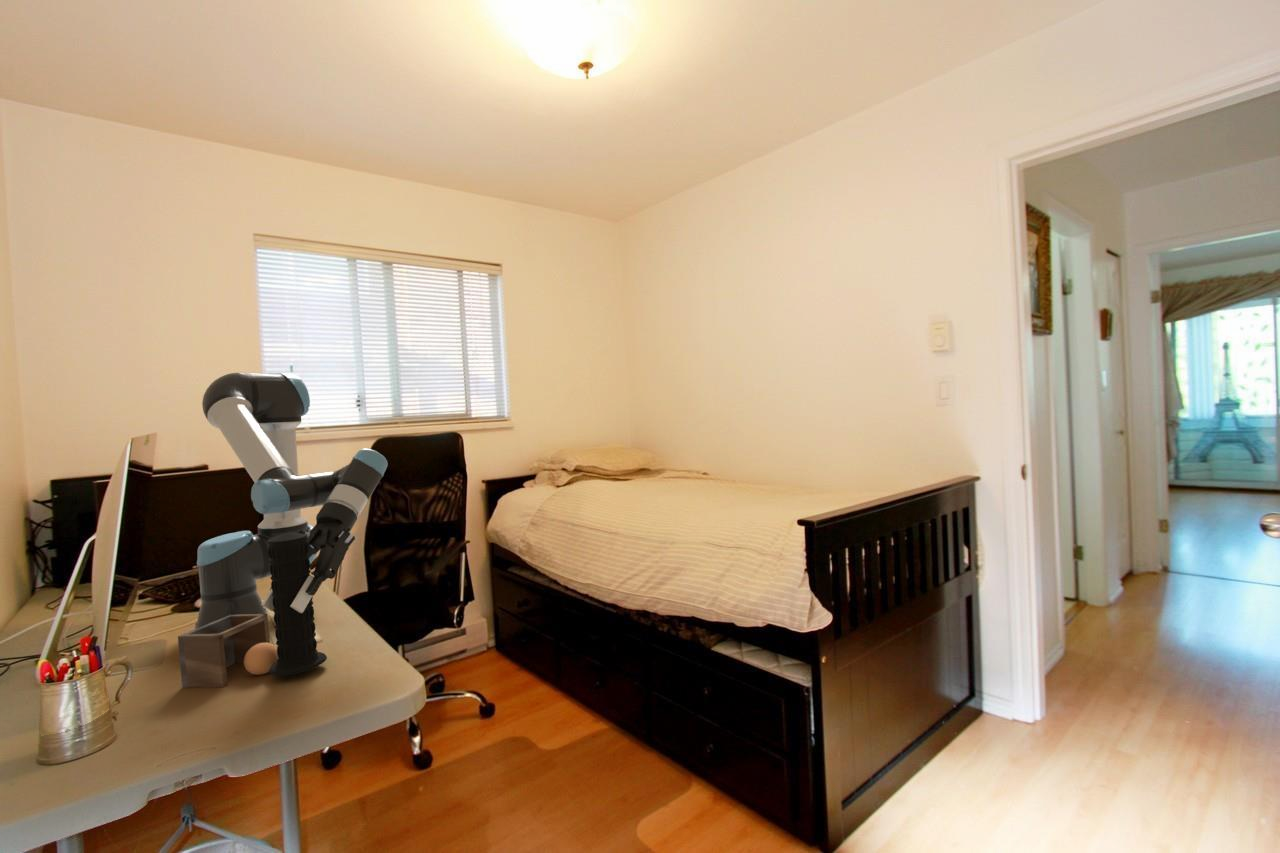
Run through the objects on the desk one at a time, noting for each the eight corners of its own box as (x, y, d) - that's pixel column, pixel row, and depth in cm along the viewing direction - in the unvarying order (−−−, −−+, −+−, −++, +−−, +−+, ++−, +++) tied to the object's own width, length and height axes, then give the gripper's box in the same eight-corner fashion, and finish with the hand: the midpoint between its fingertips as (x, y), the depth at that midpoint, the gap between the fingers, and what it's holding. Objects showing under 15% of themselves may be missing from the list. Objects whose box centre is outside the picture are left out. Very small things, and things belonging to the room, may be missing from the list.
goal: (234, 660, 125) (230, 614, 125) (271, 660, 123) (267, 613, 123) (182, 687, 113) (177, 636, 113) (223, 687, 112) (218, 635, 111)
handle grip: (305, 675, 110) (337, 652, 120) (293, 537, 110) (327, 526, 120) (256, 676, 111) (292, 654, 121) (244, 539, 111) (281, 528, 121)
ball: (263, 668, 120) (257, 640, 120) (289, 664, 119) (283, 635, 119) (239, 682, 114) (233, 652, 114) (266, 678, 113) (259, 648, 113)
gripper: (387, 519, 128) (333, 619, 113) (317, 520, 134) (257, 615, 119) (367, 499, 122) (308, 601, 107) (295, 501, 129) (230, 597, 114)
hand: (281, 608), depth 113 cm, fingers closed on handle grip, 7 cm apart
